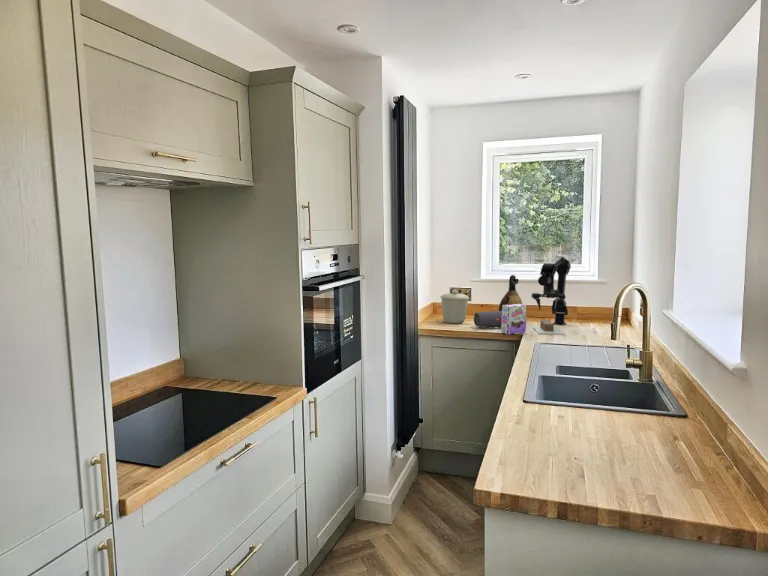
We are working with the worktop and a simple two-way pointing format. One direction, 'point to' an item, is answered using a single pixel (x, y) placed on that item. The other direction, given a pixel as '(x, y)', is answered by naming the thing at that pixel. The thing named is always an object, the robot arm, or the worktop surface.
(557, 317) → the robot arm
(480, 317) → the bluetooth speaker
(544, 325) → the walnut block
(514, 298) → the ceramic jug
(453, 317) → the canister
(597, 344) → the worktop surface
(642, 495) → the worktop surface
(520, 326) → the candy box
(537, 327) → the sage mat
